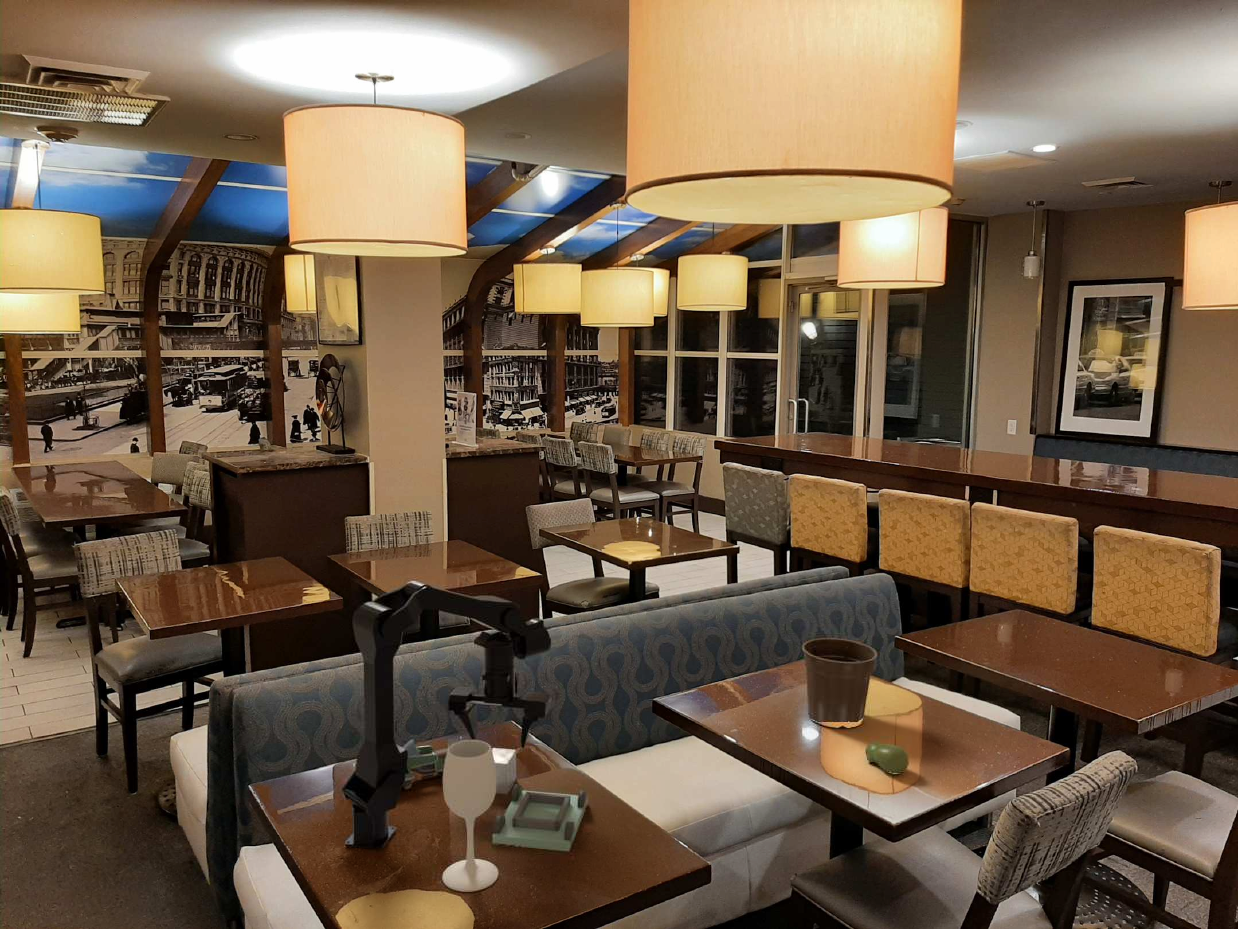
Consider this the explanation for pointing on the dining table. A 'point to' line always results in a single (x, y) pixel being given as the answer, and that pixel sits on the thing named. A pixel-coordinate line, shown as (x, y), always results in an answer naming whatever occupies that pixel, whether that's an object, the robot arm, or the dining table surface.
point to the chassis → (540, 819)
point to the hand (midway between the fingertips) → (499, 745)
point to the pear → (888, 757)
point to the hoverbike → (422, 761)
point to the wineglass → (469, 808)
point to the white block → (504, 768)
